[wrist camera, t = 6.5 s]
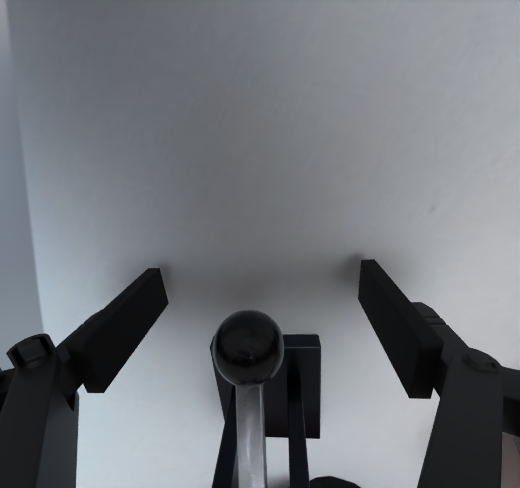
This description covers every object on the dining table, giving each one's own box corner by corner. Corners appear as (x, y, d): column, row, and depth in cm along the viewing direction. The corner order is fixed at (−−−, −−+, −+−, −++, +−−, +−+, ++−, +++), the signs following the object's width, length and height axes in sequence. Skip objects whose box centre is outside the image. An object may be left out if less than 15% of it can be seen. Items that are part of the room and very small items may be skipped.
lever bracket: (213, 335, 19) (97, 658, 7) (318, 334, 18) (394, 700, 6) (229, 421, 22) (172, 732, 10) (318, 424, 22) (364, 763, 10)
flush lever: (222, 305, 13) (201, 318, 10) (283, 303, 12) (282, 317, 9) (229, 604, 12) (208, 732, 8) (297, 611, 11) (302, 748, 8)
